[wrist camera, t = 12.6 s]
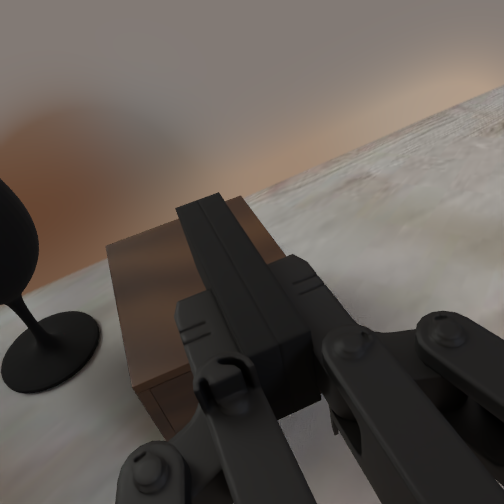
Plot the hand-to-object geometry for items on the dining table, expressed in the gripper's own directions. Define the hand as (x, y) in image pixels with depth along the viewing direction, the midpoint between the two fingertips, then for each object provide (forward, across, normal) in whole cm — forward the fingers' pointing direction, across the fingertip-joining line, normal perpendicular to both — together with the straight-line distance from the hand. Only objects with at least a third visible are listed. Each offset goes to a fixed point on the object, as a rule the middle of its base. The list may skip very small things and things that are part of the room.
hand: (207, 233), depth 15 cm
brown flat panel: (+16, 0, -15) cm, 22 cm away
